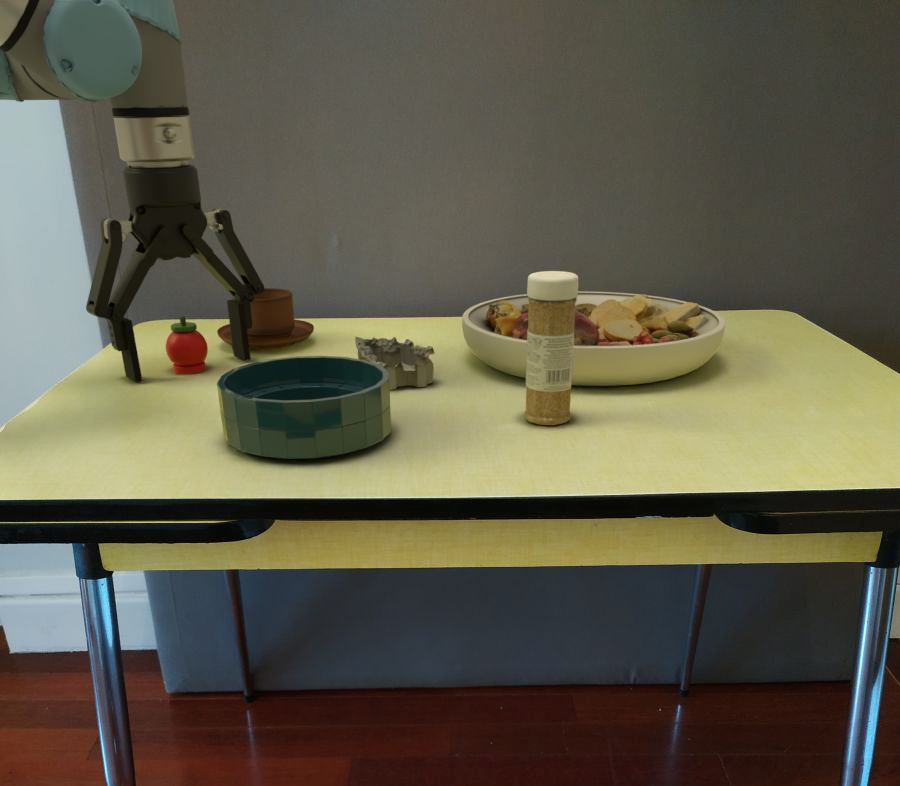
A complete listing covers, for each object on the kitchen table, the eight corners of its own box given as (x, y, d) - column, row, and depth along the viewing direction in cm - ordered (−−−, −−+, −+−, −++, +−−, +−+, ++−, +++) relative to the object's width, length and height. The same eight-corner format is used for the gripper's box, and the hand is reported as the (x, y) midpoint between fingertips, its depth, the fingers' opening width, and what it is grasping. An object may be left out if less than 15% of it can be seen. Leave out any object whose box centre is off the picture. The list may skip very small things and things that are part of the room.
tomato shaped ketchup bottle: (180, 377, 102) (171, 323, 99) (162, 369, 105) (154, 316, 102) (217, 370, 105) (210, 316, 102) (199, 362, 108) (192, 310, 105)
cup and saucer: (214, 337, 119) (208, 288, 116) (305, 330, 122) (301, 282, 119) (224, 359, 109) (217, 306, 106) (323, 351, 112) (319, 299, 109)
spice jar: (566, 411, 90) (574, 269, 83) (574, 426, 86) (582, 278, 79) (520, 412, 90) (525, 269, 83) (525, 427, 86) (530, 278, 79)
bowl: (494, 324, 124) (495, 263, 120) (722, 337, 117) (730, 273, 113) (431, 384, 99) (429, 309, 95) (715, 404, 92) (727, 325, 88)
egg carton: (438, 387, 98) (437, 349, 96) (369, 393, 96) (367, 354, 94) (417, 362, 107) (416, 326, 105) (354, 366, 105) (352, 331, 103)
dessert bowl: (279, 478, 75) (273, 413, 72) (196, 433, 85) (188, 374, 82) (424, 438, 83) (423, 379, 81) (333, 401, 94) (329, 347, 91)
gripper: (50, 172, 85) (96, 396, 95) (281, 159, 99) (299, 355, 109) (24, 168, 90) (70, 381, 101) (248, 156, 104) (268, 344, 114)
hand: (190, 368), depth 105 cm, fingers open, 13 cm apart
